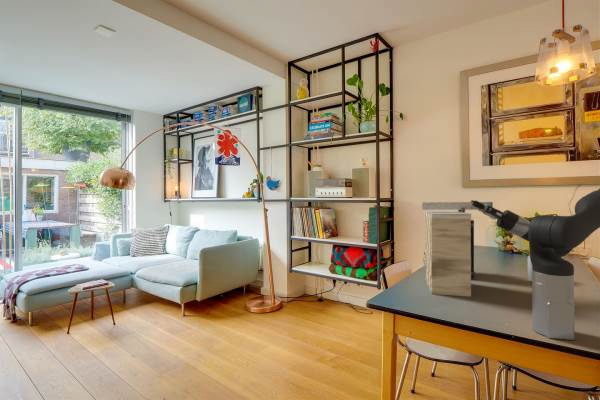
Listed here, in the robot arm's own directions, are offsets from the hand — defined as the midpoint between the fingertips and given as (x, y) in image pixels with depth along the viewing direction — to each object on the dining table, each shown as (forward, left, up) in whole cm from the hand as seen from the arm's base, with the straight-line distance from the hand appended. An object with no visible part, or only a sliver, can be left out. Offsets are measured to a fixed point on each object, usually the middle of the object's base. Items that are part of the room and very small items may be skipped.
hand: (472, 202), depth 129 cm
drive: (0, +6, -3) cm, 7 cm away
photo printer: (+21, -31, -36) cm, 52 cm away
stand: (0, +10, -36) cm, 37 cm away
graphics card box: (+25, +1, -36) cm, 44 cm away
